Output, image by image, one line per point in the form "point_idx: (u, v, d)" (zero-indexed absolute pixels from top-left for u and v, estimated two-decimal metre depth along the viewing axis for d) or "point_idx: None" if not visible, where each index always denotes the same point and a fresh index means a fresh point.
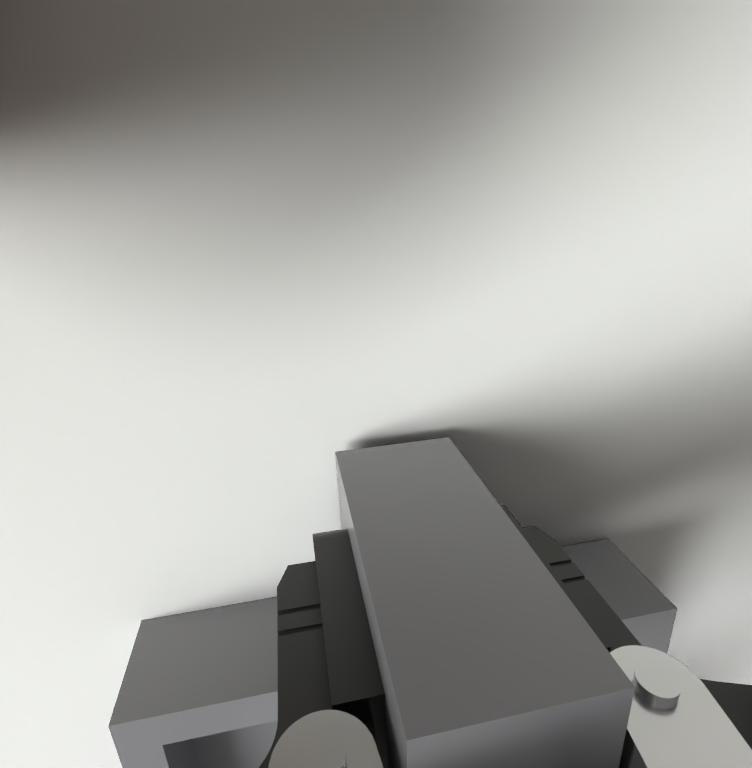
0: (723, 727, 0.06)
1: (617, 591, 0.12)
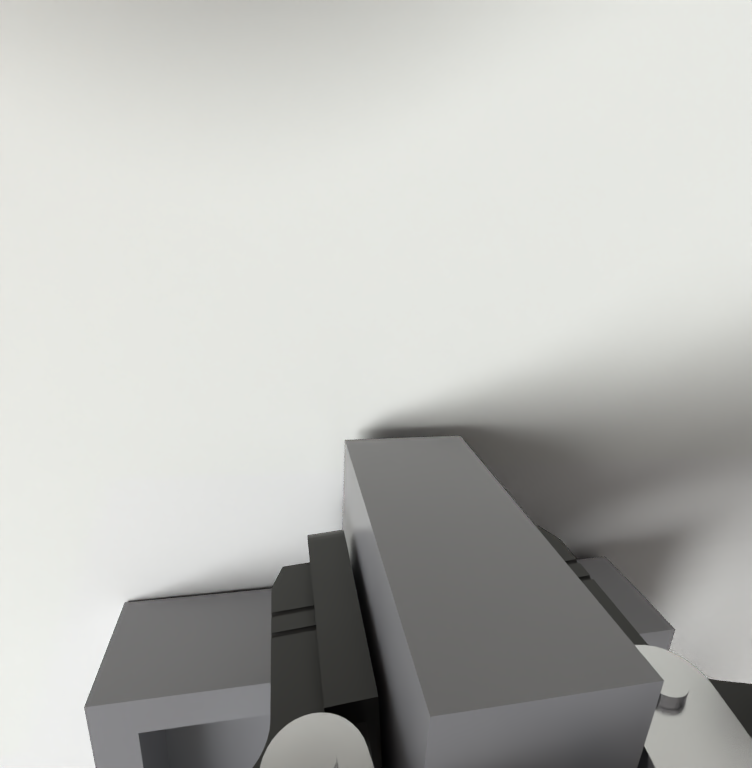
0: (732, 726, 0.06)
1: None
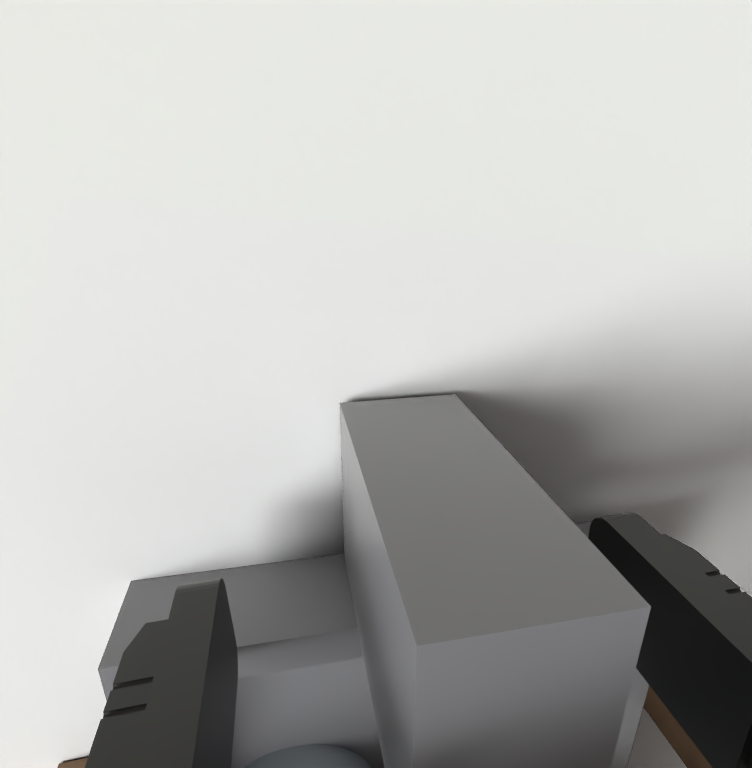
0: None
1: None
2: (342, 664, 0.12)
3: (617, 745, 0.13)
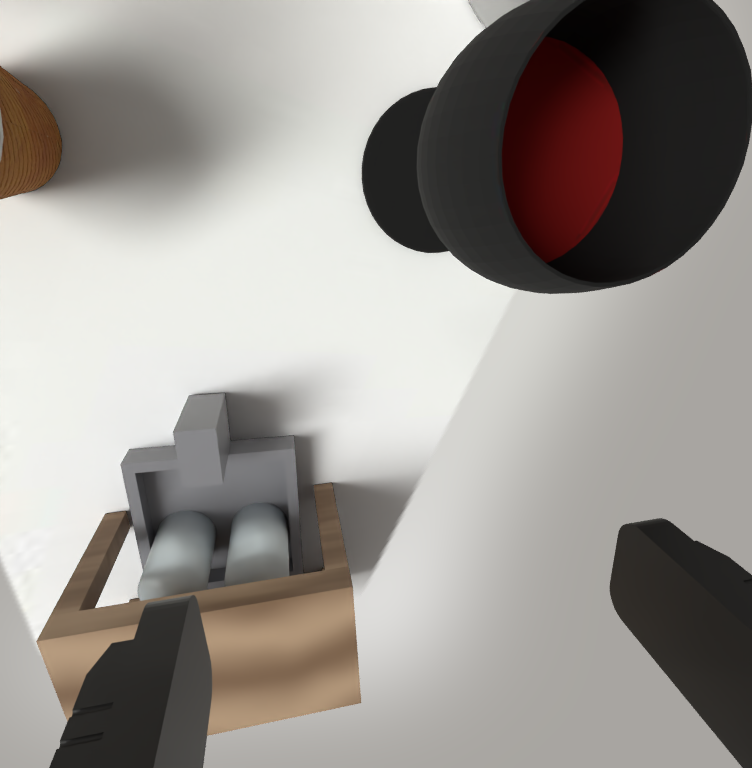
0: None
1: (281, 444, 0.37)
2: None
3: (292, 511, 0.38)
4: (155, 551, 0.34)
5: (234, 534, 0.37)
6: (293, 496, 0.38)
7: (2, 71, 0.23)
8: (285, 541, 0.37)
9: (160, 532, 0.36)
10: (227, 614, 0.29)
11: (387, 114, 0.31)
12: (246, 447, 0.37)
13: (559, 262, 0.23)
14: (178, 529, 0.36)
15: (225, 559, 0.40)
